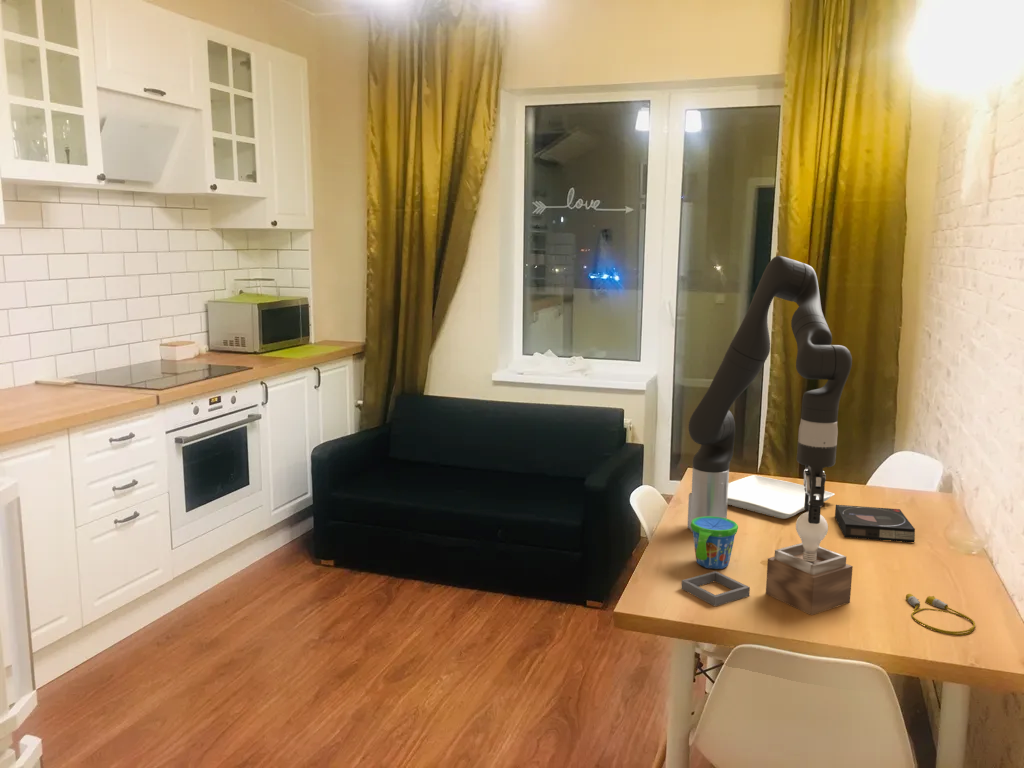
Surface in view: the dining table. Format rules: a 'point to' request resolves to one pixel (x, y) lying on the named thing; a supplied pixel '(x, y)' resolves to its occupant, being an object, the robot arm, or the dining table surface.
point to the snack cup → (713, 540)
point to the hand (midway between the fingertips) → (811, 516)
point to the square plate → (769, 496)
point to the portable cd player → (874, 523)
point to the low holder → (715, 600)
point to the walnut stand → (809, 579)
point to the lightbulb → (811, 535)
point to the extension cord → (939, 604)
